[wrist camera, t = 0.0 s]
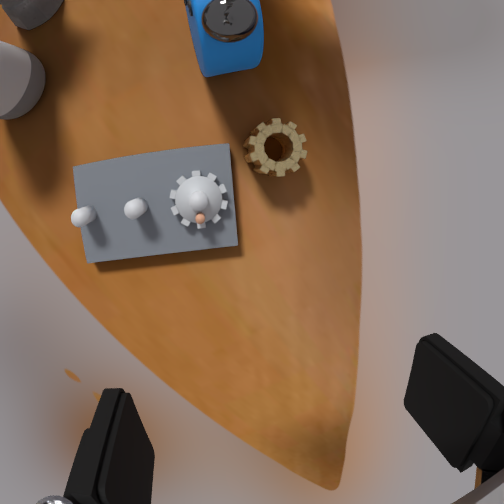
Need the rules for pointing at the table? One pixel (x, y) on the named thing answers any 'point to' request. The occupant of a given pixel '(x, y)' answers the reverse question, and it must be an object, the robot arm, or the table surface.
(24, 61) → the smart speaker
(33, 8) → the coffeepot
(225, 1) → the alarm clock
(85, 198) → the gear board
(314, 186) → the table surface
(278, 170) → the brass gear
